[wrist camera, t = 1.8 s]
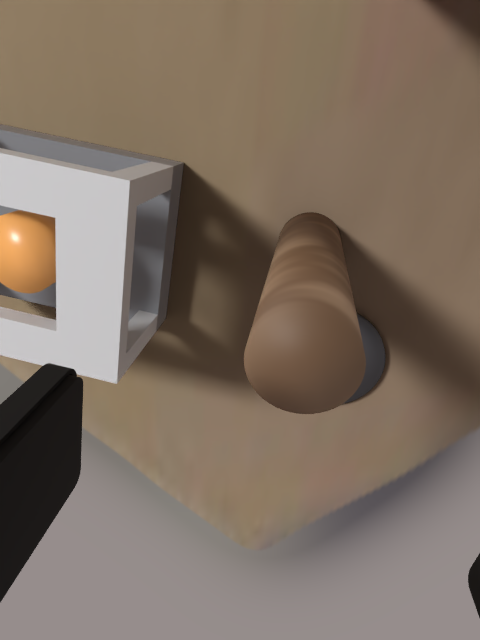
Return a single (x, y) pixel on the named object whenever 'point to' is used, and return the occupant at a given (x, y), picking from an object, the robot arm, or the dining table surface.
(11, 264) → the orange hemisphere
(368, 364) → the mat
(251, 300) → the dining table surface
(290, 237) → the brown wooden rod
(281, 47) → the dining table surface
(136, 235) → the white hollow box
